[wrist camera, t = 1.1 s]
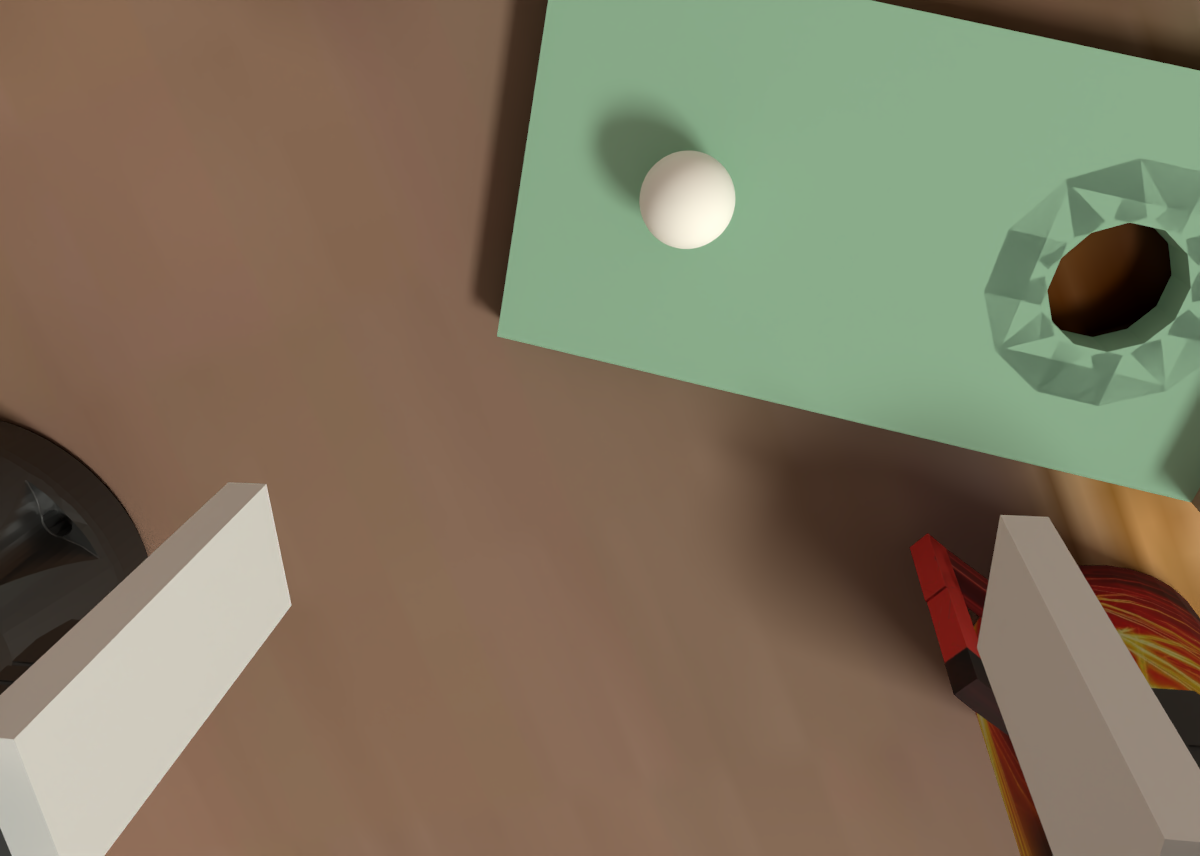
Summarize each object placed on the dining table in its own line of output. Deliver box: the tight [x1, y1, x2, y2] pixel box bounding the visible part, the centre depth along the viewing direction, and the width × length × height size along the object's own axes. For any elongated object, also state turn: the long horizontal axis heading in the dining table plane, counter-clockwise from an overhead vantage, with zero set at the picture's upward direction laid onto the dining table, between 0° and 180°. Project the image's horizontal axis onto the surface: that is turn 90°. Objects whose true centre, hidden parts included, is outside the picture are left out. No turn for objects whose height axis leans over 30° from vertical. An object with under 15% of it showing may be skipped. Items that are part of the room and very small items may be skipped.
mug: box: [910, 533, 1200, 856], centre depth 34 cm, size 10×14×12 cm
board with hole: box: [497, 0, 1200, 512], centre depth 31 cm, size 28×14×4 cm, turn 79°
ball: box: [639, 151, 735, 249], centre depth 31 cm, size 3×3×3 cm
